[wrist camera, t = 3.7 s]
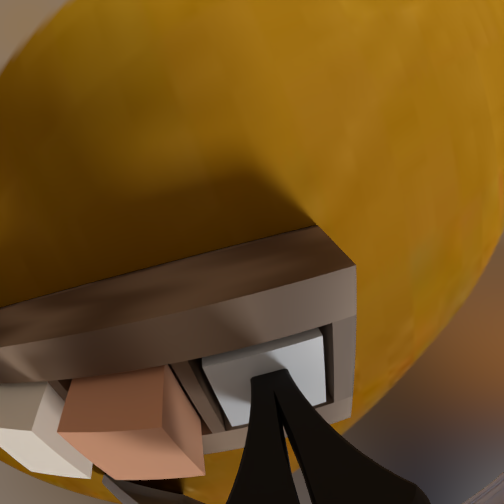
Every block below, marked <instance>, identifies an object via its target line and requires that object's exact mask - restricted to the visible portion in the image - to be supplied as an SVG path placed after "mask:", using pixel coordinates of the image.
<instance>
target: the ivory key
mask: <svg viewBox="0 0 504 504" xmlns="http://www.w3.org/2000/svg"><path fill="white" fill-rule="evenodd" d="M64 404H65V402H64V400H63V399H62V398H61V397H60V396H59V395H58V394H57V392H56V391H55V390H54V389H53V388H52V386H51V385H50V384H49V383H48V382H47V381H41V382H27V383H8V384H0V447H1V448H2V449H4V450H5V451H6V452H7V453H8V454H10V455H11V456H12V457H13V458H14V459H16V460H17V461H18V462H20V463H21V464H22V465H23V466H25V467H26V468H27V469H29V470H30V471H32V472H38V473H44V474H51V475H58V476H66V477H75V478H87V479H91V472H92V465H93V463H92V462H91V461H90V460H88V459H87V458H86V457H85V456H83V455H82V454H81V453H80V452H79V451H77V450H76V449H75V448H74V447H73V446H72V445H70V444H69V443H68V442H67V441H66V440H65V439H64V438H62V437H61V436H60V435H59V434H58V433H57V429H58V425H59V422H60V418H61V414H62V411H63V407H64Z"/></svg>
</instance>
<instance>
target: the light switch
mask: <svg viewBox="0 0 504 504" xmlns="http://www.w3.org/2000/svg"><path fill="white" fill-rule="evenodd" d="M102 482H103V484H104V485H105V486H106V487H107V488H108V489H109V490H110V491H111V492H112V493H113V494H114V495H115V496H116V497H117V498H118V499H119V500H120V501H121V502H122V503H123V504H205V503H202V502H200V501H197V500H195V499H192V498H190V497H188V496H185V495H182V494H176V493H171V492H167V491H162V490H158V489H153V488H149V487H145V486H142V485H138V484H134V483H131V482H127V481H124V480H115V479H114V478H112V477H111V476H108V475H105V474H104V476H103V480H102Z"/></svg>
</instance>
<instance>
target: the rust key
mask: <svg viewBox="0 0 504 504" xmlns="http://www.w3.org/2000/svg"><path fill="white" fill-rule="evenodd" d="M57 433H58V434H59V435H60V436H61V437H62V438H64V439H65V440H66V441H67V442H68V443H69V444H70V445H72V446H73V447H74V448H75V449H76V450H77V451H79V452H80V453H81V454H82V455H83V456H85V457H86V458H87V459H88V460H90V461H91V462H92V463H93V464H95V465H96V466H97V467H99V468H100V469H101V470H103V471H104V472H105V473H107V474H108V475H109V476H111V477H112V478H114V479H115V480H155V479H172V478H184V477H194V476H203V475H205V466H204V456H203V444H202V432H201V419H200V417H199V416H198V414H197V413H196V411H195V409H194V408H193V406H192V405H191V403H190V401H189V400H188V398H187V397H186V395H185V393H184V392H183V390H182V388H181V387H180V385H179V383H178V381H177V380H176V378H175V376H174V374H173V373H172V371H171V369H170V367H169V366H168V364H167V365H162V366H157V367H151V368H145V369H139V370H133V371H127V372H120V373H113V374H106V375H99V376H91V377H83V378H74V379H72V381H71V384H70V388H69V391H68V394H67V397H66V401H65V404H64V407H63V411H62V414H61V418H60V422H59V425H58V429H57Z"/></svg>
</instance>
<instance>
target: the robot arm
mask: <svg viewBox="0 0 504 504" xmlns="http://www.w3.org/2000/svg"><path fill="white" fill-rule="evenodd" d="M250 382H251V406H250V416H249V424H248V431H247V436H246V441H245V446H244V451H243V455H242V459H241V463H240V466H239V470H238V473H237V476H236V479H235V482H234V485H233V487H232V490H231V493H230V495H229V498H228V500H227V502H226V504H300V502H299V499H298V495H297V492H296V488H295V485H294V482H293V478H292V473H291V468H290V463H289V457H288V451H287V446H286V440H285V435H284V429H285V432H286V434H287V437H288V439H289V442H290V444H291V446H292V449H293V451H294V454H295V456H296V458H297V461H298V463H299V466H300V468H301V471H302V473H303V476H304V479H305V483H306V486H307V489H308V492H309V495H310V499H311V502H312V504H431V503H430V501H429V499H428V498H427V496H426V495H425V494H424V492H423V491H422V490H421V489H420V488H419V487H418V486H417V485H416V484H414V483H412V482H410V481H408V480H406V479H404V478H402V477H400V476H398V475H396V474H394V473H393V472H391V471H389V470H387V469H386V468H384V467H382V466H381V465H379V464H378V463H376V462H374V461H373V460H372V459H370V458H369V457H367V456H366V455H364V454H363V453H362V452H360V451H359V450H358V449H356V448H355V447H354V446H353V445H351V444H350V443H349V442H348V441H347V440H345V439H344V438H343V437H342V436H341V435H340V434H339V433H338V432H336V431H335V430H334V429H333V428H332V427H331V426H330V425H329V424H328V423H327V422H326V421H325V420H324V419H323V417H322V416H321V415H320V414H319V413H318V412H317V411H316V410H315V408H314V407H313V406H312V405H311V404H310V403H309V401H308V400H307V399H306V398H305V396H304V395H303V394H302V392H301V391H300V389H299V388H298V386H297V385H296V383H295V382H294V380H293V379H292V377H291V375H290V373H289V371H288V369H285V368H284V369H281V370H277V371H273V372H270V373H266V374H262V375H258V376H254V377H252V378H251V379H250ZM283 427H284V429H283ZM463 504H504V472H503V473H502V474H501V475H500V476H498V478H496V479H495V480H494V481H493V482H491V483H490V484H489V485H488V486H486V487H485V488H484V489H482V490H481V491H480V492H478V493H477V494H475V495H474V496H473V497H471V498H470V499H468V500H467V501H466V502H464V503H463Z"/></svg>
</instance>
